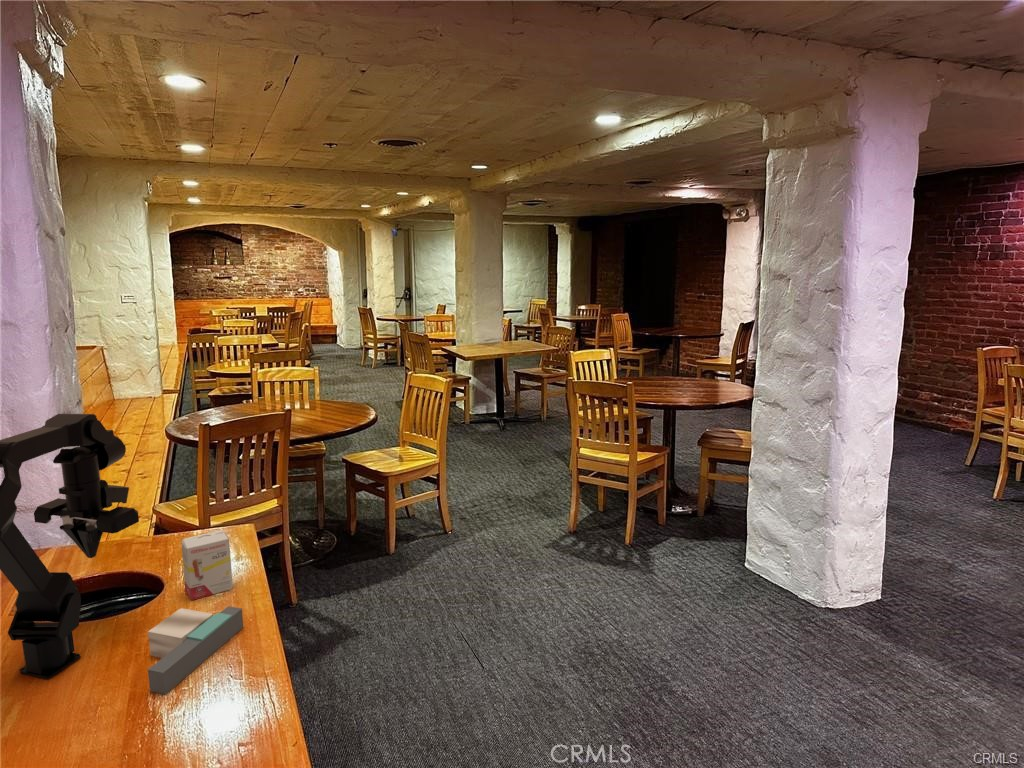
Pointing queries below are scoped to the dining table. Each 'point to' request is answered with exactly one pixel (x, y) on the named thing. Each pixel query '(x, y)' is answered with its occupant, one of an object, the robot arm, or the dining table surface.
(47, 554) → the dining table surface
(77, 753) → the dining table surface
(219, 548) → the ink box
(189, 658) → the dark bar
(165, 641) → the pale block
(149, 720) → the dining table surface
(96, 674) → the dining table surface
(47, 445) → the robot arm
